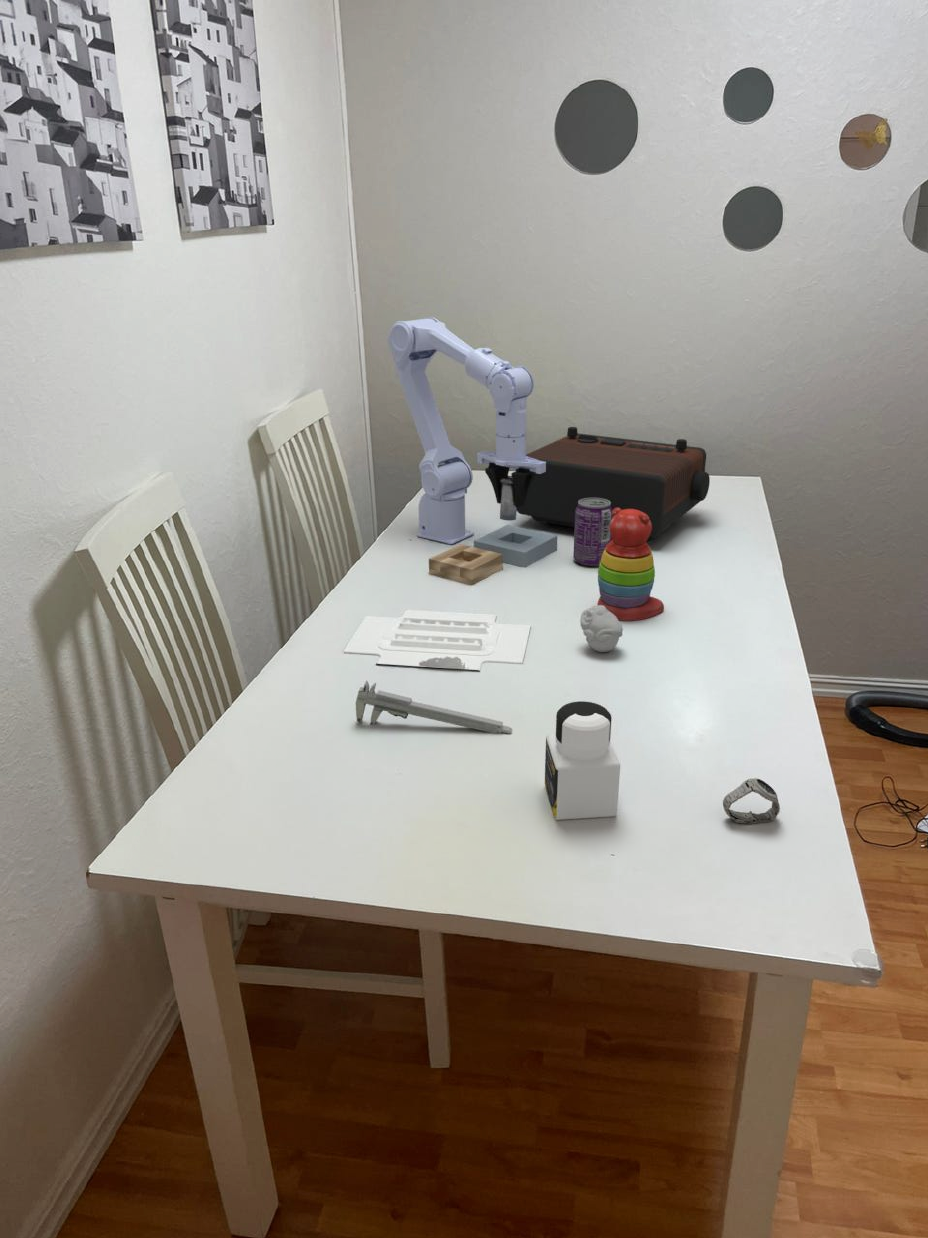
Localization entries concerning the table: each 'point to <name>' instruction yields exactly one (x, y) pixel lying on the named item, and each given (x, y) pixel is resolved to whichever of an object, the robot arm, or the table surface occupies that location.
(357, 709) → the caliper
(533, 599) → the table surface
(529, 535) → the dock
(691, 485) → the radio receiver
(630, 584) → the stacking bear
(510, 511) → the pin
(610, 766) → the medicine bottle
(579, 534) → the beverage can
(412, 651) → the tray
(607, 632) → the frog figurine
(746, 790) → the wristwatch
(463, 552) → the mount
